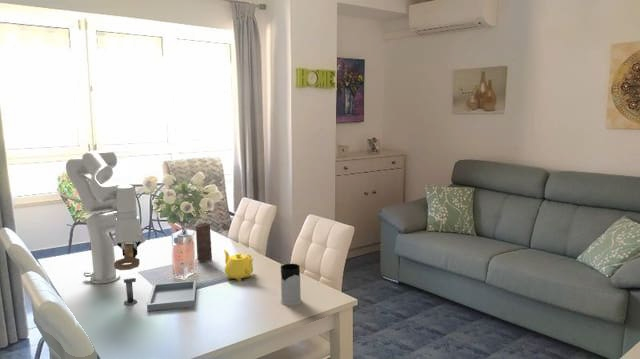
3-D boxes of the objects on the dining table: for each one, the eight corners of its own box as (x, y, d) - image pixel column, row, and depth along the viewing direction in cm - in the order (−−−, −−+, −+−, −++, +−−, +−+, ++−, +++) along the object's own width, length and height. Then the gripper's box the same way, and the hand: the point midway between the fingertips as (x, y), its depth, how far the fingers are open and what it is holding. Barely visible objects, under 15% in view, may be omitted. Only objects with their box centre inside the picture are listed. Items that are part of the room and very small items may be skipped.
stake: (123, 305, 194) (121, 281, 193) (125, 300, 199) (123, 277, 198) (136, 304, 195) (134, 280, 194) (138, 299, 200) (136, 276, 199)
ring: (113, 270, 190) (111, 254, 188) (120, 258, 204) (119, 242, 203) (137, 269, 192) (136, 252, 190) (142, 256, 206) (141, 241, 205)
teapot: (267, 276, 225) (266, 253, 223) (244, 286, 213) (243, 261, 212) (237, 267, 237) (236, 245, 235) (214, 276, 225) (213, 253, 224)
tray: (147, 312, 188) (146, 304, 188) (154, 290, 210) (153, 284, 209) (194, 307, 192) (194, 300, 192) (196, 286, 213) (196, 280, 213)
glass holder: (285, 307, 191) (284, 271, 189) (272, 295, 203) (271, 261, 201) (305, 303, 195) (304, 268, 192) (291, 291, 207) (290, 258, 205)
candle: (208, 263, 243) (206, 225, 240) (194, 263, 245) (192, 225, 241) (214, 258, 251) (212, 221, 247) (201, 258, 252) (199, 221, 249)
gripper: (104, 218, 194) (107, 261, 197) (146, 216, 197) (149, 258, 201) (108, 213, 201) (111, 255, 204) (149, 211, 205) (151, 253, 208)
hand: (130, 256), depth 202 cm, fingers closed on ring, 2 cm apart
